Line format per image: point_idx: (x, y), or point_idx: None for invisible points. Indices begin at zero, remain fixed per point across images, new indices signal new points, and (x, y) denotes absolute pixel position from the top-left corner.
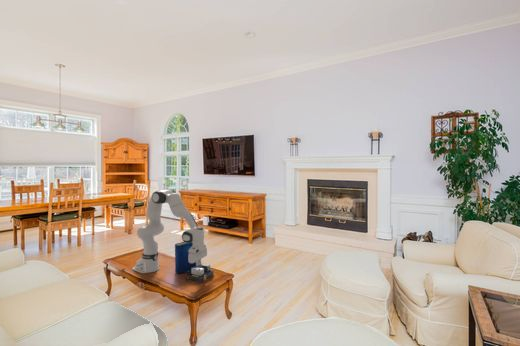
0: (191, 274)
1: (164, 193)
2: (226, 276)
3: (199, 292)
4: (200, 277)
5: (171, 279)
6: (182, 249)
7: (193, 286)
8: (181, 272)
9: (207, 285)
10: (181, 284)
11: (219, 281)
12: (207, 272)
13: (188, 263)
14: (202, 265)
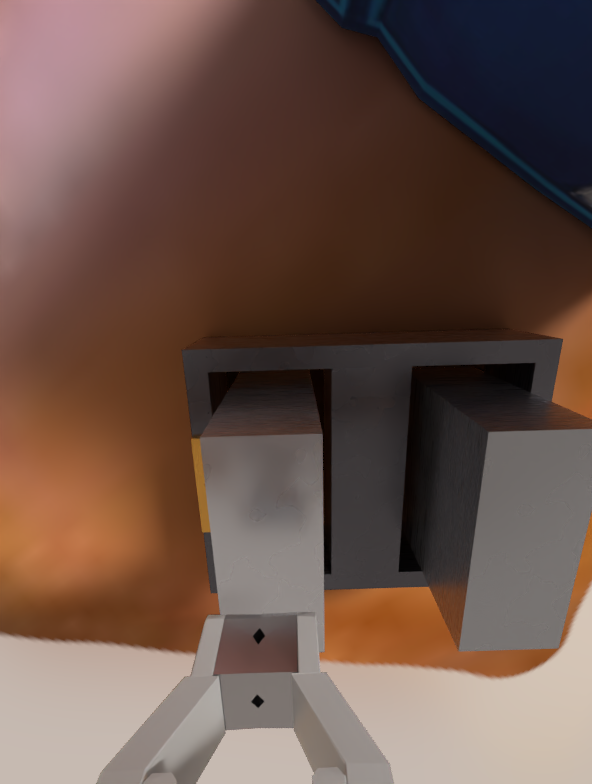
0: (227, 394)
1: None
2: (494, 657)
3: (44, 629)
4: (213, 568)
5: (78, 60)
6: None
7: (106, 509)
8: (360, 32)
9: (211, 613)
10: (54, 348)
11: (350, 658)
12: (414, 552)
13: (577, 19)
14: (471, 537)
